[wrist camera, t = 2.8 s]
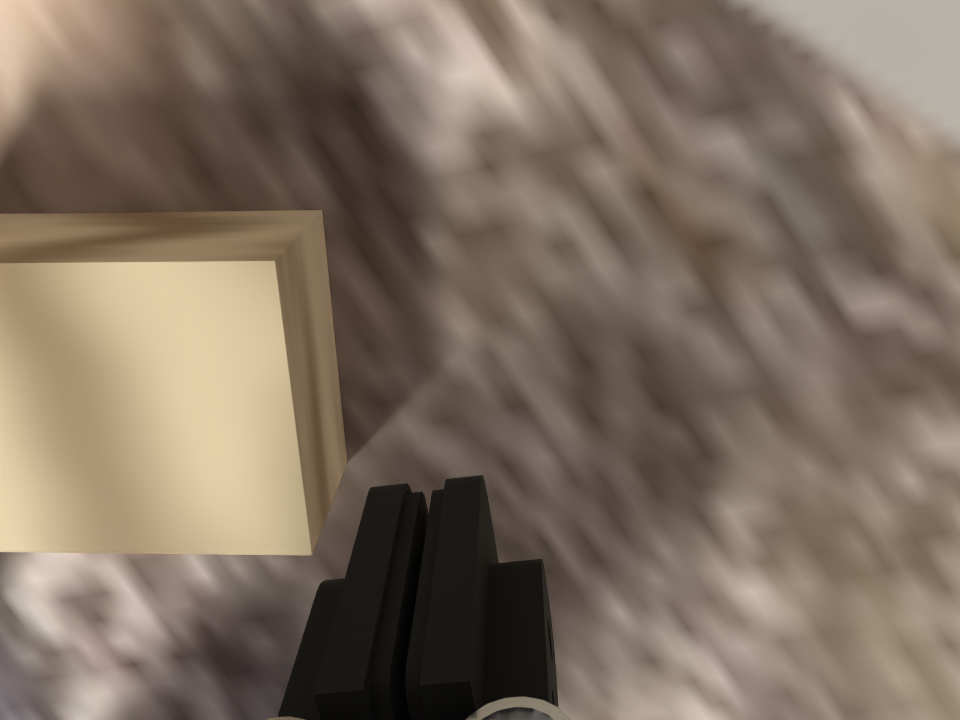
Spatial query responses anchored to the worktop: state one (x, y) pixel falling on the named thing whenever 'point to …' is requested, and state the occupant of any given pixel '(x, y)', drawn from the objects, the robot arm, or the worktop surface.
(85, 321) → the maple block
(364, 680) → the robot arm
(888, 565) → the worktop surface
